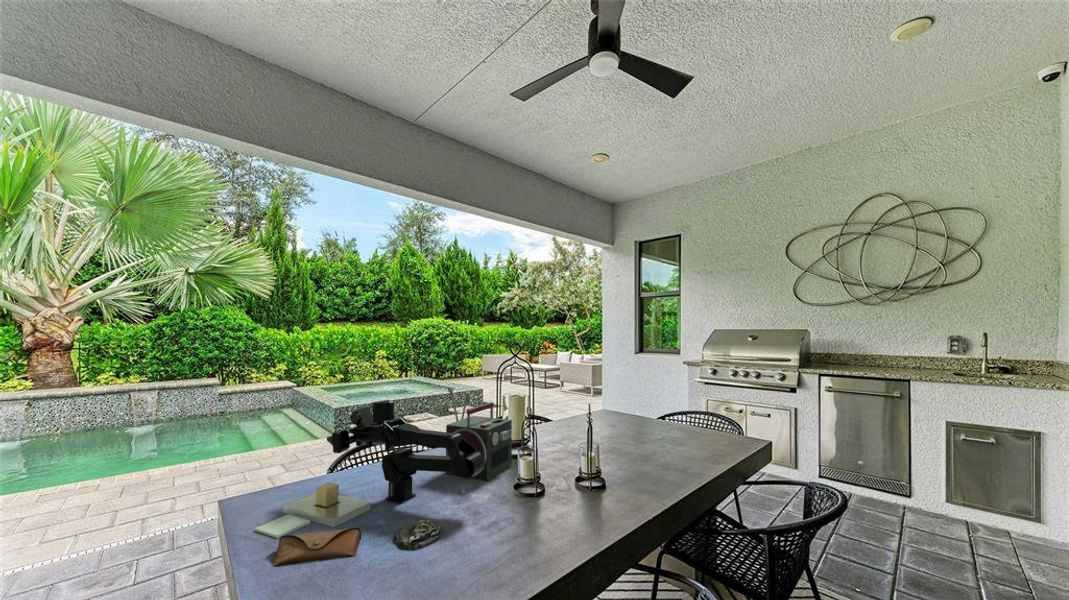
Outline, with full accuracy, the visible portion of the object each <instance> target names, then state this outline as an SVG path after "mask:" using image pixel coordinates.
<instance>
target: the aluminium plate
mask: <svg viewBox="0 0 1069 600" xmlns="http://www.w3.org/2000/svg"><path fill="white" fill-rule="evenodd" d="M370 510H371V502H370V501H366V500H362V499H358V498H353V497H349V496H346V495H341V494H339V495H338V504H336V505H334V506H332V507H329V508H327V509H323V508H320V507H316V492H314V493H311V494H309V495H307V496H304V497H301V498H299V499H297V500H294V501H291V502H289V503H287V504H283V514H285V515H288V514H289V515H292V516H296V517H299V518H303V519H306V520H310V521H311V522H314V523H317V524H321V525H324V526H328V527H331V528H335V527H337V526H339V525H341V524H344V523H346V522H348V521H349V520H352V519H353V518H355V517H358V516H360V515H362V514H364V513H366V512H368V511H370Z"/></svg>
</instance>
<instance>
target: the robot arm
mask: <svg viewBox="0 0 1069 600" xmlns="http://www.w3.org/2000/svg"><path fill="white" fill-rule="evenodd" d="M371 404H372V405H371V406H372V407H371V408H372V409H371V408H370V407H369V406H363V407H360V408H358V409H356V410H353V411H352V412H351V414H350V416H349V419H350V422H351V423H352V425H355V426H354V427H352V428H350V429H340V430H336V431H333V432H332V434H331V435H330V436H327V437H326V441H327V442H328V443H329V444H330V445H332V452H333V454H341V453H344V452H346V451H349V450H350V447H351V444H354V443H355V446H356V447H360V446H363V445H366V447H371V446H373V445H384V450H385V452H388V454H386V455H384V456H383V457H382V460H381V468H382V473H383V475H384V480H385V481H386V482H388V491H387V492H388V493H387V496H385V498H384V500H385V501H389V502H394V503H398V504H403V503H405V502H407V501H408V500H410V499H412V498H414V497H416V493H413V475H416V474H417V472H436V473H437V472H439V473H446V472H449V473H451V474H453V475H452V476H454V477H455V478H459V479H463V480H468V479H471V477H472V476H474V475H476V474H477V473H479V472H480V471H482V470H483V469H484V466H485V460H484V457H483V456H482V455H481V453H480V452H478V451H477V449H476V448H475V447H474V446H473V445H472V444H470V443H469V442H467V441H466V440H465V439H464V438H463V436H462V435H461V434H459V433H448V432H446V431H436V430H431V429H422V428H419V427H418V426H417V425H415V424H412V423H408V422H406V421H405V420H404V419H403V418H402V417H401V416H398V417H395V401H393V400H390V399H386V400H385V399H383V400H377V401H372V403H371ZM371 410H372V411H371ZM350 434H351V435H350ZM411 445H418V446H425V447H434V448H440V449H441V448H442V449H445V451H446V450H447V451H448V453H449V456H446V455H435V454H434V455H431V454H429V455H428V454H415V453H414V452H413V447H409V448H406V447H405V446H411ZM397 447H401V448H397ZM395 448H397V449H395ZM391 450H392V451H391ZM459 450H460V451H461V452H463V453H464V454H460V452H459ZM389 451H390V452H389Z"/></svg>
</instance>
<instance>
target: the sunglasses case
mask: <svg viewBox="0 0 1069 600" xmlns="http://www.w3.org/2000/svg"><path fill="white" fill-rule="evenodd" d="M361 541H362V530H361V528H360V527H355V526H354V527H349V528H346V529H336V530H326V531H325V530H324V531H316V532H308V533H301V534H286V535H284V536H281V537H279V542H278V546H277V548H276V553H275V556H274V558H273V559H274V560H273V561H272V565H271V566H270V567H271V568H276V567H281V566H286V565H292V564H299V563H306V562H312V561H320V560H321V561H323V560H330V559H335V558H336V559H339V558H345V557H346V558H349V557H355V556H357V554H358V553H357V552H358V549H359V546H360V542H361Z"/></svg>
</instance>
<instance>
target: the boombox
mask: <svg viewBox="0 0 1069 600" xmlns="http://www.w3.org/2000/svg"><path fill="white" fill-rule="evenodd" d="M447 391H448V392H449V394H450V397H451V402H452V407H453V411H454V415H455V420H456V421H453V422H451V423H449V424H446V426H445V432H448V433H459V434H461V435H462V436H463V438H464V439H465V440H466V441H467V442H469V443H470V444H472V445H473V446H474V447H475V448H476V449H477V451H478V452H480V453H481V455H482V456H483V457H484V460H485V466H484V469H483V470H482V471H480V472H479V473H477V474H476V475H474V476H472V477H471V478H470V479H472V480H478V481H482V482H489V481H491V480H492V479H494V478H495V477H498V476H499V475H500V474H502V473H503V472H505V471H506V470H509V469H510V468H512V465H513V463H512V460H513V459H512V458H513V457H512V453H513V449H512V446H513V443H512V442H513V440H512V438H513V430H512V429H513V427H512V426H513V425H512V424H513V421H512V419H508V418H507V419H504V418H497V417H496V418H495V417H494V402H493V401H490V402H486V403H484V404H480V405H477V406H474V407H470V408H467V403H468V398H469V397H470V395H471V392H470V391H465V392H464V396H465V398H464V404H463V408H462V413H461V418H460V420H459V417H458V412H457V406H456V402H455V398H454V393H453V392H454V387H453V386H449V387H448V388H447ZM466 408H467V409H466ZM487 409H490V411H489V412H490V413H489V415H490V417H489V416H478V415H472V414H476V413H478V412H482V411H485V410H487ZM465 413H466V415H467V416H466V418H464V417H465ZM471 415H472V416H471ZM459 452H460V454H464V453H463V452H461V451H460V450H459ZM445 456H449V453H448V451H447V450H446V449H445ZM445 475H449V476H454V475H453V474H451V473H449V472H445Z"/></svg>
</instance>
